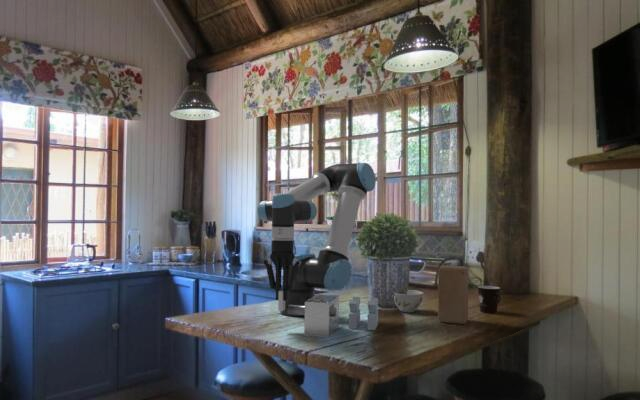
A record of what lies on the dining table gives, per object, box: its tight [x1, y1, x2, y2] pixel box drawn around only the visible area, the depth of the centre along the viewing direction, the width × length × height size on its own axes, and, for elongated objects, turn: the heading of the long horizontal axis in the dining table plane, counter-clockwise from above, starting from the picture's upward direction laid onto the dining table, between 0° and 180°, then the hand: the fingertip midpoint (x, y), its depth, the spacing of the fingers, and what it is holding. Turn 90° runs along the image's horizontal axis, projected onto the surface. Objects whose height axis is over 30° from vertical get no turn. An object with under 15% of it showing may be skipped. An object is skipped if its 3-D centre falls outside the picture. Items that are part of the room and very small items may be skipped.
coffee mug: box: [477, 285, 501, 314], centre depth 206 cm, size 12×9×10 cm
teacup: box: [393, 289, 424, 313], centre depth 208 cm, size 15×12×8 cm
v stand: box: [348, 296, 379, 331], centre depth 178 cm, size 9×9×10 cm
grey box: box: [303, 293, 340, 338], centre depth 170 cm, size 8×16×11 cm, turn 166°
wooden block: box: [437, 265, 469, 325], centre depth 189 cm, size 10×10×20 cm
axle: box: [287, 305, 336, 317], centre depth 168 cm, size 16×3×3 cm, turn 76°
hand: (281, 310), depth 170 cm, fingers closed
